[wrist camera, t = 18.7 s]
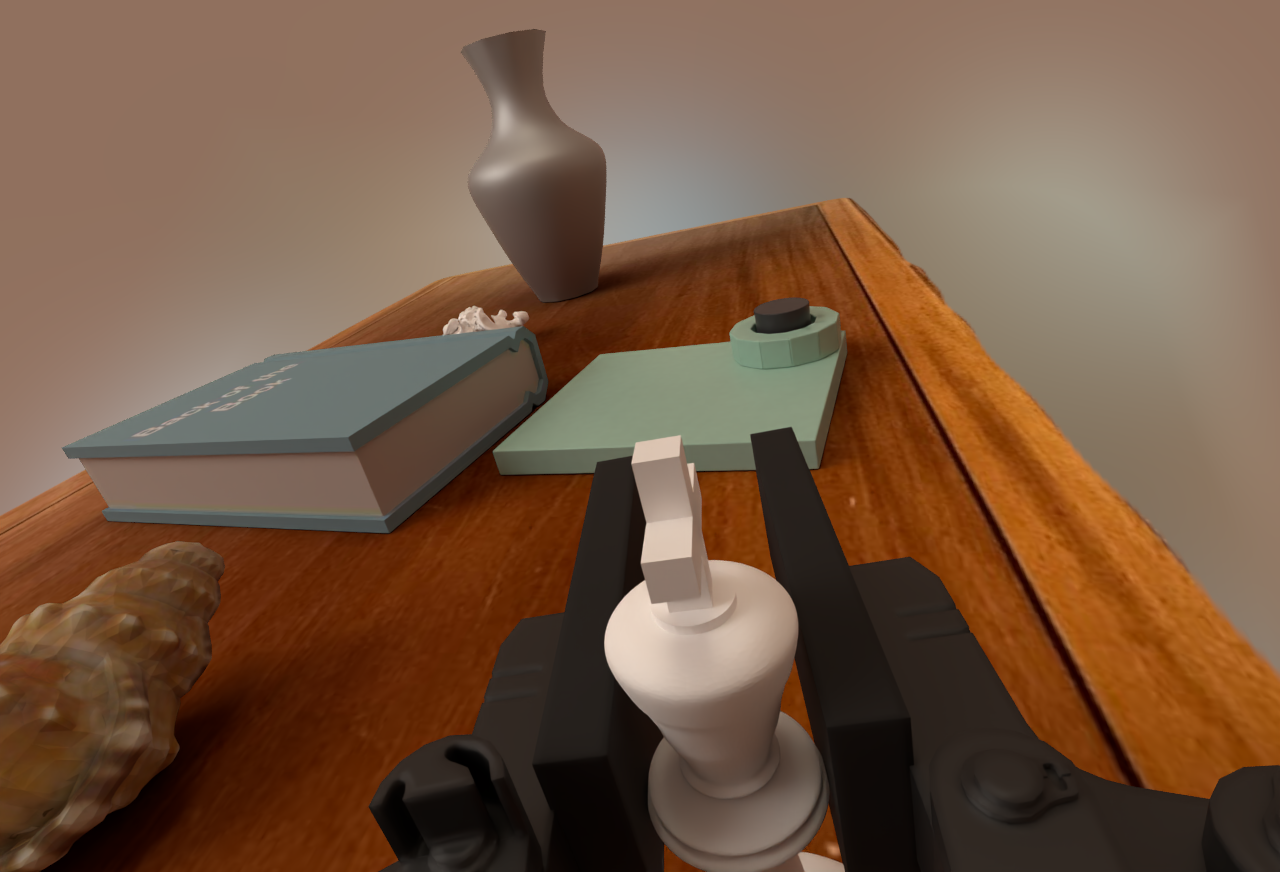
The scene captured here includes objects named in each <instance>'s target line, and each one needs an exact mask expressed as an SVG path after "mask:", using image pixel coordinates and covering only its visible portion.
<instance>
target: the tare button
mask: <svg viewBox="0 0 1280 872" xmlns="http://www.w3.org/2000/svg"><path fill="white" fill-rule="evenodd" d="M754 315H755V322H756V329H757V333H764V334H775V333H786V332H790V331H794V330H798V329H801V328H805V327H807V326H809V325H811V316H810V307H809V301H808V300H807V299H803V298H784V299H778V300H773V301H770V302H766V303H764V304H761V305H759V306H758V307H756V308H755V309H754Z"/></svg>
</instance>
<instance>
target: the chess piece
mask: <svg viewBox="0 0 1280 872" xmlns="http://www.w3.org/2000/svg"><path fill="white" fill-rule="evenodd" d="M631 465H632V469H633V473H634V476H635V480H636V484H637V488H638V492H639V496H640V500H641V504H642V508H643V512H644V516H645V520H646V529H645V536H644V543H643V550H642V557H641V567H642V570H643V574H644V578H645V580H644V581H643V582H641V583H640V584H639V585H637V586H636V587H635V588H633V589H632V590H631V591H630V592H629V593H628V594H627V595H626V596H625V597H624V598H623V599H622V600H621V602H620V603H619V604H618V606H617V607H616V608H615V610H614V612H613V613H612V615H611V617H610V619H609V622H608V625H607V628H606V632H605V640H604V647H605V655H606V659H607V662H608V665H609V667H610V669H611V671H612V673H613V675H614V677H615V678H616V680H617V681H618V683H619V684H620V686H621V687H622V688H623V690H624V691H625V692H626V693H627V695H628V696H629V697H630V698H631V700H632V701H633V702H634V703H635V704H636V705H637V706H638V708H640V709H641V710H642V711H643V712H644V713H645V714H647V715H648V716H649V717H650V718H651V719H652V721H653V722H654V723H655V724H656V725H657V726H658V728H659V729H660V731H661V733H662V734H663V736H664V738H663V739H662V741H661V742H660V744H659V745H658V747H657V749H656V751H655V753H654V755H653V758H652V761H651V765H650V770H649V778H648V810H649V814H650V818H651V821H652V823H653V826H654V828H655V830H656V832H657V833H658V835H659V837H660V838H661V840H662V841H663V842H664V843H665V845H666V846H667V847H668V848H669V849H670V850H671V851H672V852H673V853H674V854H675V855H676V856H678V857H679V858H680V859H682V860H683V861H685V862H687V863H688V864H690V865H692V866H694V867H696V868H699V869H701V870H704V871H707V872H845V869H844V865H843V864H842V863H839V862H837V861H835V860H832V859H829V858H826V857H823V856H820V855H816V854H811V853H806V852H801V851H802V850H803V849H804V848H805V847H806V846H807V845H808V844H809V843H810V841H811V840H812V839H813V838H814V836H815V835H816V833H817V832H818V830H819V828H820V827H821V824H822V822H823V820H824V818H825V815H826V812H827V808H828V803H829V795H830V787H829V783H828V778H827V774H826V770H825V766H824V762H823V758H822V756H821V754H820V752H819V750H818V748H817V747H816V745H815V744H814V742H813V741H812V739H811V738H810V736H809V734H808V733H807V732H806V731H805V730H804V728H803V727H802V726H801V725H800V724H799V723H797V722H796V721H795V720H794V719H793V718H791V717H790V716H788V715H787V714H785V713H783V712H781V711H780V707H781V698H782V694H783V691H784V687H785V684H786V682H787V680H788V677H789V675H790V672H791V669H792V665H793V660H794V656H795V652H796V647H797V640H798V617H797V612H796V608H795V605H794V603H793V601H792V599H791V597H790V595H789V594H788V592H787V591H786V590H785V589H784V588H783V586H782V585H781V584H780V583H779V582H777V581H776V580H775V579H774V578H772V577H771V576H769V575H768V574H766V573H764V572H762V571H760V570H758V569H756V568H753V567H751V566H748V565H744V564H741V563H736V562H730V561H721V560H708V558H707V553H706V549H705V544H704V540H703V535H702V530H701V504H702V498H701V493H700V488H699V484H698V479H697V474H696V469H695V465H694V463H689V464H687V461H686V457H685V452H684V447H683V443H682V438H681V435H678V436H672V437H666V438H660V439H654V440H648V441H642V442H636V444H635V448H634V453H633V458H632V463H631Z"/></svg>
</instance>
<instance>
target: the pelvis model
mask: <svg viewBox="0 0 1280 872" xmlns="http://www.w3.org/2000/svg"><path fill="white" fill-rule="evenodd" d="M472 307H473V308H471V307H469V308H467V309H465V310H466V311H463V312H462V313H460V315H459V318H458V319H451V320H450V321H449V323H448V324H447V325H445V326H444V328H443V332H444V335H451V334H460V333H468V332H477V331H486V330H494V329H503V328H512V327H520V326H523V325H524V324H525V323H526V322H527V321H528V319H529V316H528V314H527V312H522V311H520V312H514V313H513V316H514V317H515V318H514V319H513V320H511V321H507V320H506V319H505V318H506V317H507V313H506V312H505V311H504V310H500V311H499V313H498V315H497V316H493V315H491V317H492V318H493V319H494V321H495V324H494V323H493V322H492V321H491V320H490V319H489V317H488V316H487V315H486V314H484V312H483V309H482V308H478V307H476V306H472Z"/></svg>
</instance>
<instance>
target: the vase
mask: <svg viewBox="0 0 1280 872" xmlns="http://www.w3.org/2000/svg"><path fill="white" fill-rule="evenodd" d="M545 32H546V31H542V30H537V29H532V30H524V31H516V32H509V33H505V34H501V35H497V36H493V37H489V38H485V39H481V40H479V41H476V42H474V43H472V44H469V45H467V46H464V47H463V49H462V51H461V53H462V55H463V56H464V58H465V59H466V60H467V62H468V63H469V64H470V66H471V67H472V69H473V70H474V72H475V74H476V75H477V77H478V78H479V80H480V82H481V83H482V85H483V87H484V89H485V91H486V93H487V96H488V98H489V101H490V104H491V108H492V129H491V135H490V139H489V141H488V144H487V146H486V148H485V149H484V151H483V152H482V154H481V155H480V157H479V158H478V160H477V161H476V162H475V164H474V166H473V167H472V169H471V171H470V173H469V176H468V188H469V191H470V194H471V196H472V198H473V200H474V202H475V204H476V206H477V208H478V209H479V211H480V213H481V214H482V216H483V218H484V219H485V221H486V222H487V224H488V226H489V227H490V229H491V231H492V232H493V234H494V235H495V237H496V239H497V240H498V242H499V244H500V245H501V247H502V248H503V250H504V251H505V253H506V254H507V256H508V258H509V259H510V260H511V262H512V264H513V265H514V266H515V268H516V269H517V271H518V272H519V273H520V275H521V276H522V277H523V279H524V280H525V281H526V283H527V284H528V285H529V287H530V288H531V289H532V290H533V292H534V293H535V294H536V296H537V297H538V298H539V300H540V301H542V302H556V301H561V300H566V299H570V298H574V297H578V296H581V295H583V294H586V293H589V292H591V291H593V290H594V289H595V288H597V287H598V276H599V269H600V263H601V256H602V247H603V237H604V236H603V235H604V221H605V200H606V160H605V155H604V153H603V150H602V148H601V147H600V146H599V145H598V144H597V143H596V142H595V141H593V140H592V139H590V138H588V137H586V136H585V135H583V134H581V133H579V132H577V131H575V130H574V129H572V128H570V127H568V126H567V125H566V124H565V123H563V122H562V121H561V120H560V118H559V117H558V116H557V115H556V113H555V112H554V110H553V109H552V108H551V106H550V104H549V102H548V100H547V98H546V95H545V91H544V87H543V75H542V69H543V67H542V66H543V49H544V41H545Z"/></svg>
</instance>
